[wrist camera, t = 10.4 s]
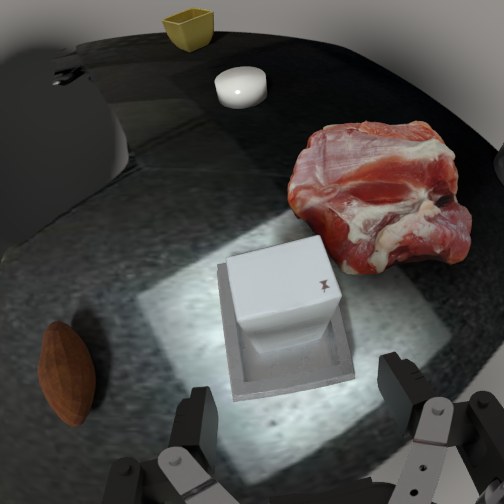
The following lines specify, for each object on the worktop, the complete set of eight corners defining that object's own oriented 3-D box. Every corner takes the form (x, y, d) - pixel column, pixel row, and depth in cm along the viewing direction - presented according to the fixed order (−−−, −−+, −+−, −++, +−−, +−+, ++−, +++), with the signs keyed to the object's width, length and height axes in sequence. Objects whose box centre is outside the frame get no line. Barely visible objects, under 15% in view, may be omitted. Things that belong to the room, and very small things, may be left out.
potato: (93, 320, 30) (59, 301, 25) (118, 421, 25) (81, 421, 19) (56, 335, 30) (20, 319, 24) (75, 429, 25) (37, 429, 19)
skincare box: (309, 296, 29) (323, 231, 18) (321, 339, 27) (346, 297, 16) (247, 311, 29) (223, 255, 18) (256, 355, 27) (236, 324, 16)
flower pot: (220, 43, 57) (214, 10, 49) (188, 58, 55) (179, 23, 47) (200, 37, 61) (193, 7, 53) (169, 51, 59) (160, 20, 51)
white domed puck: (262, 80, 47) (260, 63, 44) (271, 104, 44) (270, 86, 41) (217, 88, 48) (213, 71, 44) (220, 113, 44) (216, 95, 41)
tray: (323, 254, 31) (326, 239, 29) (353, 379, 25) (361, 377, 23) (217, 273, 32) (211, 260, 29) (234, 401, 25) (228, 402, 23)
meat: (309, 311, 29) (319, 269, 20) (272, 153, 39) (267, 90, 30) (477, 271, 28) (524, 227, 19) (412, 139, 38) (429, 85, 29)
